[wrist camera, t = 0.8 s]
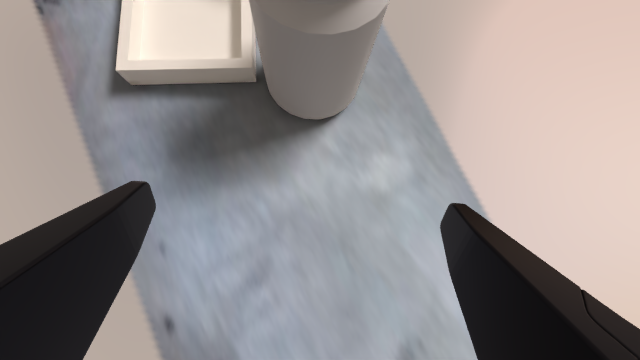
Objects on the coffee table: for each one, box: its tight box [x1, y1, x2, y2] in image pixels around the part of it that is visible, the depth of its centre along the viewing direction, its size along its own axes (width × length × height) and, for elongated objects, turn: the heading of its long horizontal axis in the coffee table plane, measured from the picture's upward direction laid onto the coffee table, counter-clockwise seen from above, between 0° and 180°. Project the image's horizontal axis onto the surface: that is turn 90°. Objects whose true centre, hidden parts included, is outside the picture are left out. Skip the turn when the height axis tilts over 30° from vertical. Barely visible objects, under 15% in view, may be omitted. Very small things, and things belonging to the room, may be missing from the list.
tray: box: [116, 0, 256, 85], centre depth 24 cm, size 10×10×2 cm
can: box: [249, 0, 390, 119], centre depth 19 cm, size 8×8×12 cm
